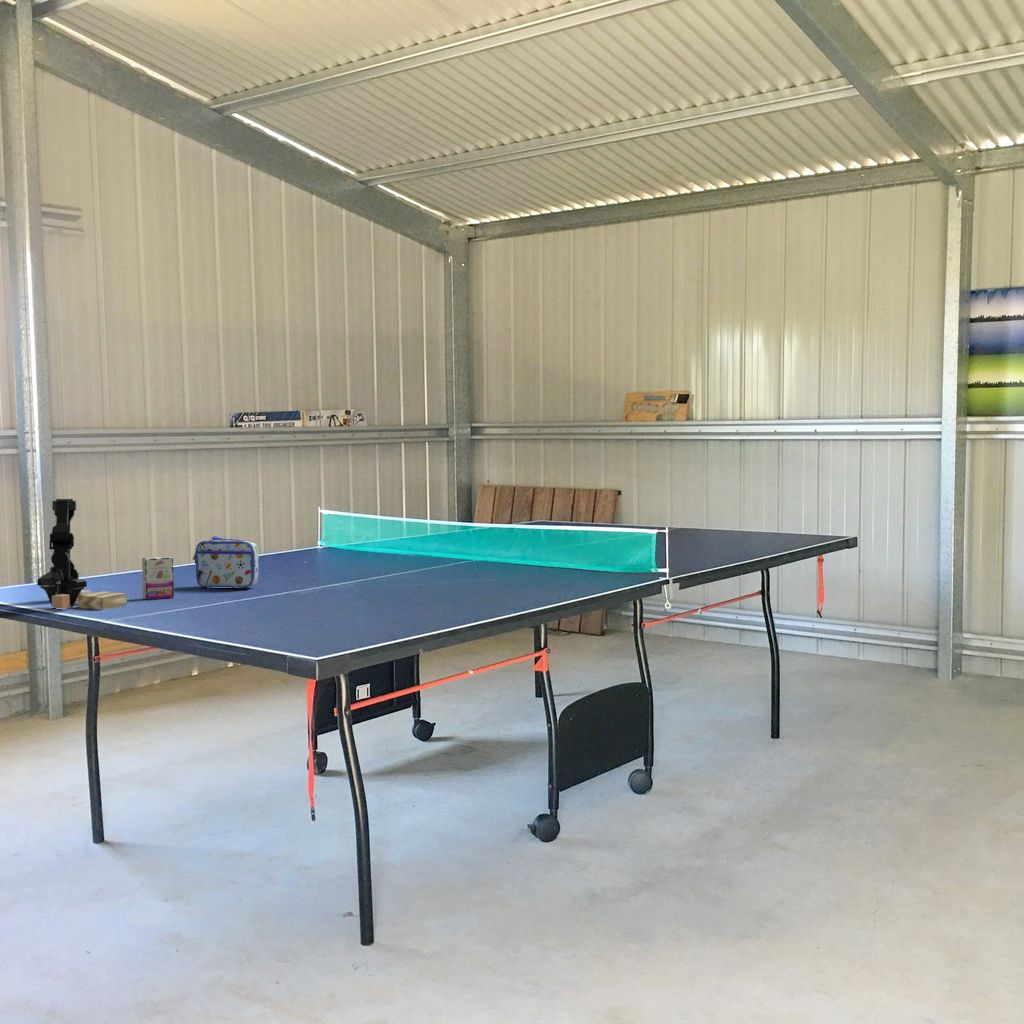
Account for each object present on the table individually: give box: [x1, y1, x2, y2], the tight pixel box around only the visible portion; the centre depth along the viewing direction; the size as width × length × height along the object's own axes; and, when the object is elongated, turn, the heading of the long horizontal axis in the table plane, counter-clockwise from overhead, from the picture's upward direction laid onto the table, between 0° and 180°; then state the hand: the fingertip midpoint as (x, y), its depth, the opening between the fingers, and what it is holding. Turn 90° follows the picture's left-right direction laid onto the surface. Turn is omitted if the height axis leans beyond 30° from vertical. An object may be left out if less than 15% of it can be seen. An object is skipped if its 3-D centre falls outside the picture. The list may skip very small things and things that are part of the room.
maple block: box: [78, 590, 128, 611], centre depth 404 cm, size 12×12×5 cm
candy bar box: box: [141, 556, 175, 600], centre depth 426 cm, size 11×5×16 cm, turn 126°
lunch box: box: [192, 535, 260, 589], centre depth 459 cm, size 28×10×22 cm, turn 84°
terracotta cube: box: [51, 594, 72, 609], centre depth 399 cm, size 5×5×5 cm
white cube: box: [74, 589, 93, 605], centre depth 410 cm, size 5×5×5 cm
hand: (62, 605), depth 399 cm, fingers open, 9 cm apart
